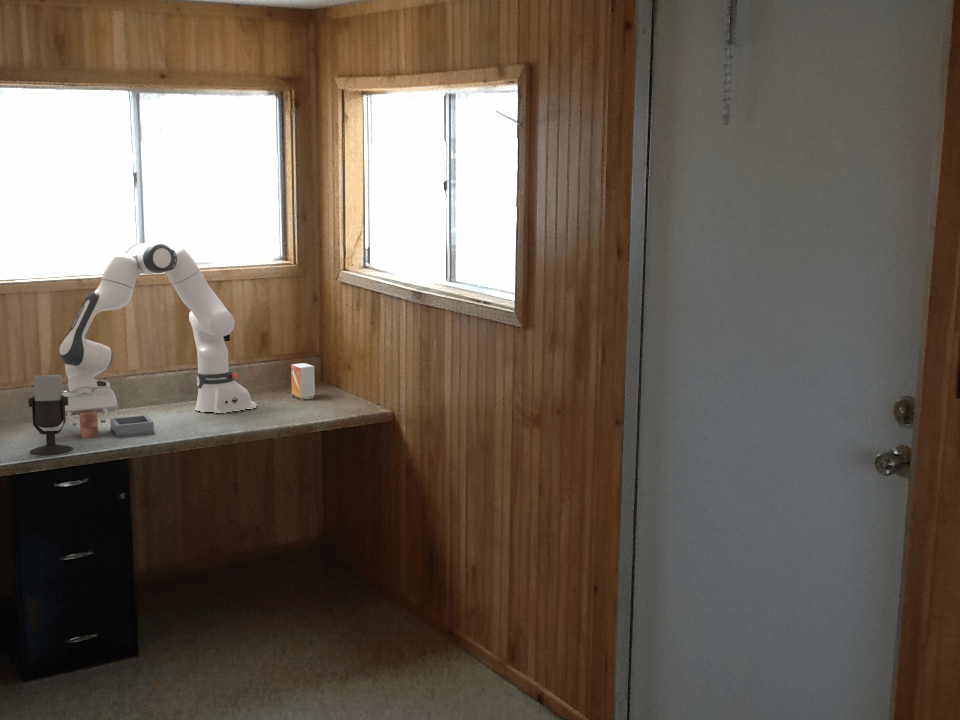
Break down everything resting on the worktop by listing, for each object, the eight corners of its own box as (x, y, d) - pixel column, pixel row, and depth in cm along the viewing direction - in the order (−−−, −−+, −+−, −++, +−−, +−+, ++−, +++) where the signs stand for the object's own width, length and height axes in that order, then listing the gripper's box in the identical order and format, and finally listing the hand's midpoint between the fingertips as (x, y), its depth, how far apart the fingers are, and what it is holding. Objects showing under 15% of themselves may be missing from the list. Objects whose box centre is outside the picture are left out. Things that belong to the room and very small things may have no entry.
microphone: (75, 445, 370) (71, 370, 366) (69, 456, 358) (64, 377, 353) (33, 447, 368) (28, 371, 363) (26, 457, 355) (20, 379, 351)
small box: (291, 397, 446) (290, 364, 444) (306, 395, 450) (305, 362, 447) (300, 400, 439) (300, 367, 437) (315, 398, 443) (314, 365, 441)
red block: (96, 433, 386) (94, 410, 385) (98, 436, 382) (97, 413, 381) (80, 435, 384) (79, 412, 383) (82, 438, 380) (81, 415, 378)
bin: (146, 426, 398) (146, 414, 397) (154, 433, 387) (153, 422, 386) (110, 429, 392) (110, 418, 391) (117, 437, 381) (116, 425, 381)
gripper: (51, 387, 382) (56, 421, 375) (114, 381, 391) (120, 415, 384) (50, 397, 387) (55, 431, 380) (112, 392, 396) (119, 425, 389)
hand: (88, 423), depth 382 cm, fingers open, 8 cm apart
